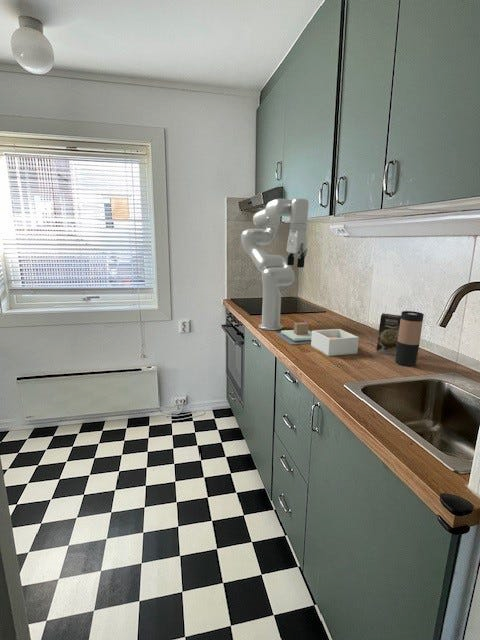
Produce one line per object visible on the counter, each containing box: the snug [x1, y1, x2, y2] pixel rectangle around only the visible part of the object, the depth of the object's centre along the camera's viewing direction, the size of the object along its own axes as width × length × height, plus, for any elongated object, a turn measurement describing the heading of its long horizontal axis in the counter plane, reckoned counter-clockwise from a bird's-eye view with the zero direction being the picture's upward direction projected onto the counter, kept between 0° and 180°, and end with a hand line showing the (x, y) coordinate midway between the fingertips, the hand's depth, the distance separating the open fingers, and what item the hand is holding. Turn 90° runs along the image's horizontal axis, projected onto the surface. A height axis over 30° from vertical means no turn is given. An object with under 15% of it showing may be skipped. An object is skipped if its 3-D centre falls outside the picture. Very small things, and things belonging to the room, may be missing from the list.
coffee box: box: [375, 312, 401, 356], centre depth 144 cm, size 9×6×16 cm
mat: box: [274, 332, 311, 346], centre depth 164 cm, size 18×18×1 cm
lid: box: [280, 321, 312, 341], centre depth 163 cm, size 14×14×7 cm
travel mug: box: [395, 310, 425, 367], centre depth 131 cm, size 8×8×20 cm
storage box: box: [310, 328, 360, 357], centre depth 147 cm, size 14×14×7 cm
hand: (295, 266), depth 158 cm, fingers open, 9 cm apart
